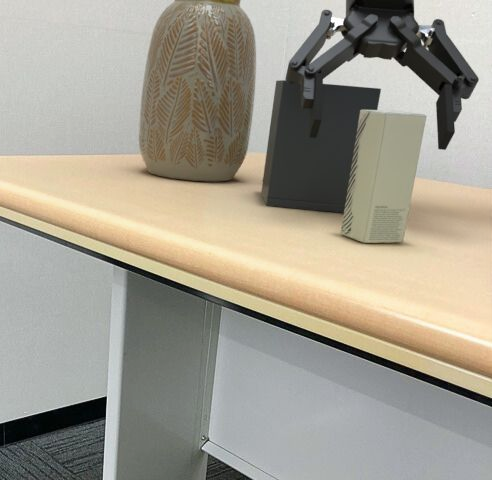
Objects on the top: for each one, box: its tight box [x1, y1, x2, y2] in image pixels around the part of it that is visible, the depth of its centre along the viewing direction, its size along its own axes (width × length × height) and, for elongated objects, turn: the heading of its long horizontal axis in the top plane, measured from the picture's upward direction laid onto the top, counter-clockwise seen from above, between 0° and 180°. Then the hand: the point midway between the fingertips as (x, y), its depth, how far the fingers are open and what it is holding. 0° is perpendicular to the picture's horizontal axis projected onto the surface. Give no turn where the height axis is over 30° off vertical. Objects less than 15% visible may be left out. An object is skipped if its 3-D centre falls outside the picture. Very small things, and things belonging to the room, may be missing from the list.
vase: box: [138, 0, 257, 183], centre depth 114 cm, size 17×17×27 cm
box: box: [340, 109, 428, 244], centre depth 76 cm, size 5×4×13 cm
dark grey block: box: [260, 79, 382, 214], centre depth 98 cm, size 12×12×15 cm
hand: (380, 135), depth 79 cm, fingers open, 13 cm apart
